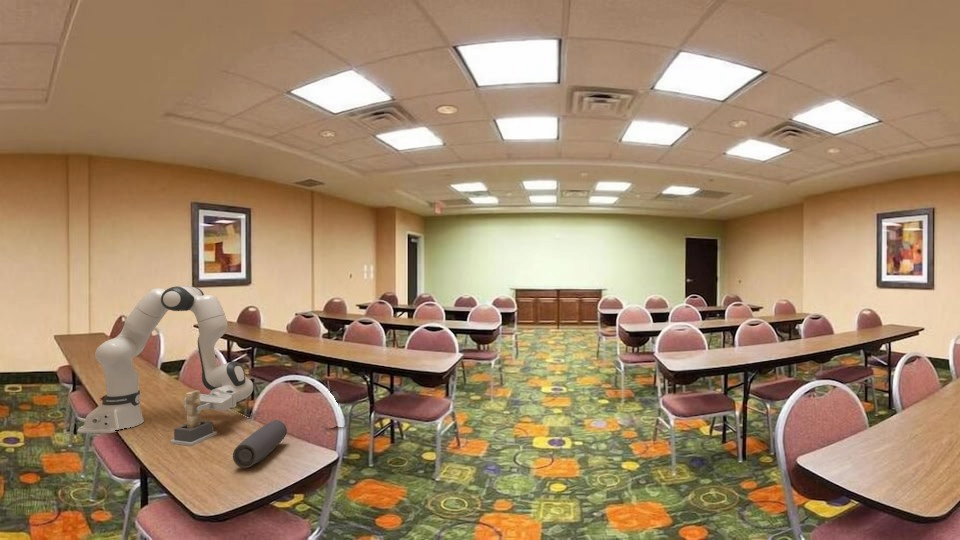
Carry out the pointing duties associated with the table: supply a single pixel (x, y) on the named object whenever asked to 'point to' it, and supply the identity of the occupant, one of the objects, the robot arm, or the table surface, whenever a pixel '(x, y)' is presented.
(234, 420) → the table surface
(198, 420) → the slat
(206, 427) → the grey hollow box
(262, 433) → the bluetooth speaker
